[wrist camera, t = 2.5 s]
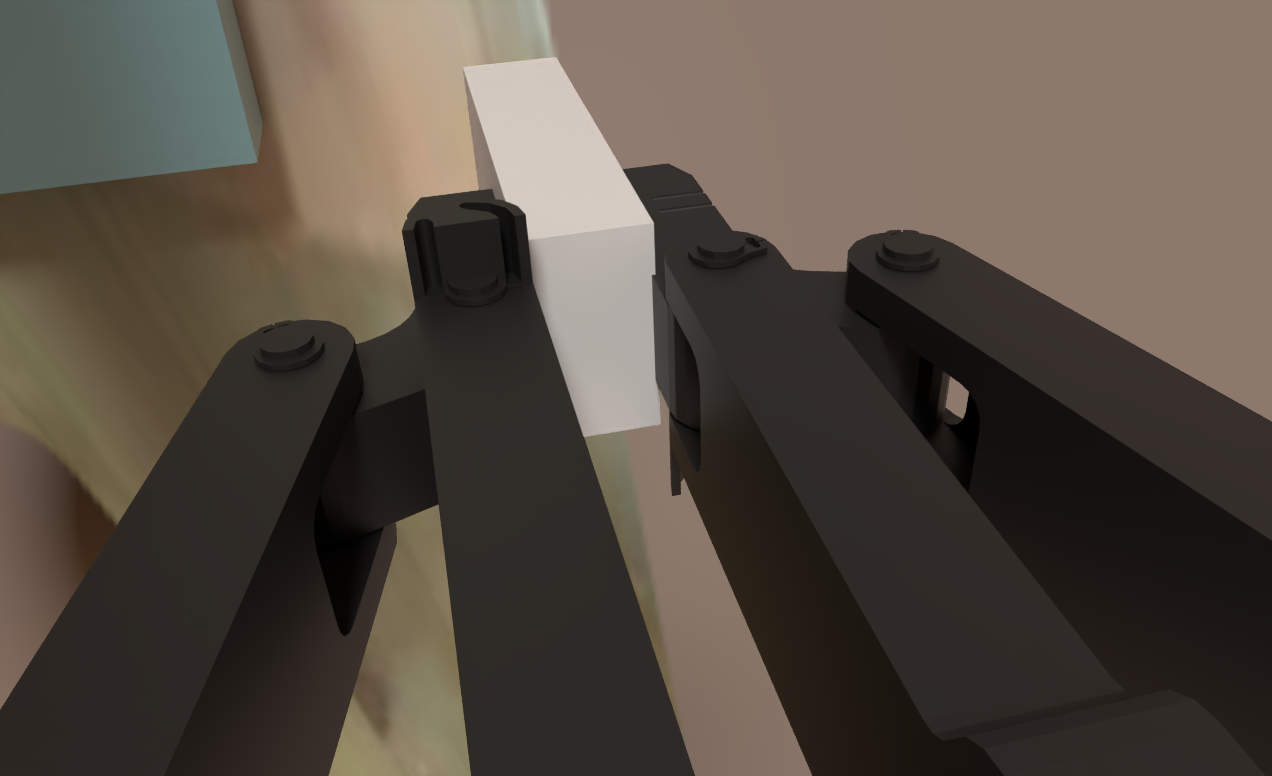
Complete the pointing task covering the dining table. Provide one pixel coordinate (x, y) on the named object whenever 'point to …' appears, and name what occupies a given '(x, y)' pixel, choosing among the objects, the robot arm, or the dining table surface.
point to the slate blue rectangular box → (121, 91)
